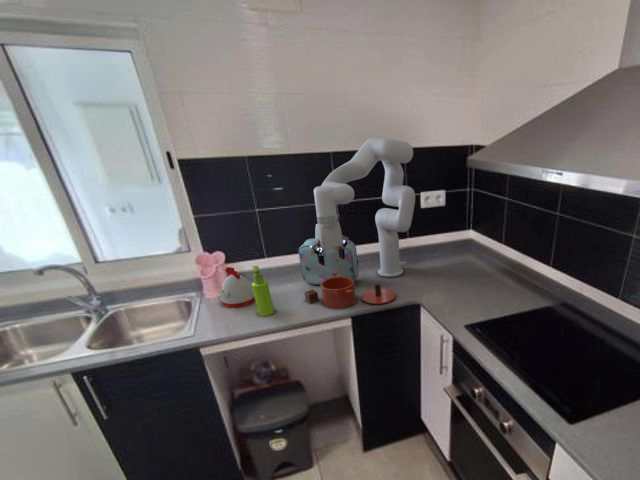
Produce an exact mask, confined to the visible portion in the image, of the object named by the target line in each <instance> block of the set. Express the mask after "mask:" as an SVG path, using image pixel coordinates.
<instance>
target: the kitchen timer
mask: <svg viewBox="0 0 640 480" xmlns="http://www.w3.org/2000/svg"><path fill="white" fill-rule="evenodd" d="M224 272H225V273H226V275H227V277H226V278H224V280H223V283H222V286H221V288H220V289H219V294H220V300H221V304H222V305H223V306H224V307H226V308H241V307H245V306H248V305H250V304H252V303H254V302H256V300H255V296H254V292H253V288H252V283H253V282H252V281H249V280H248V278H246V277H244V276H243V275H241V274H240V273H238V271H237V270H235V268H234V267H231V266H230V267H229V266H226V268H225V269H224Z"/></svg>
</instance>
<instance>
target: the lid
mask: <svg viewBox="0 0 640 480" xmlns="http://www.w3.org/2000/svg"><path fill="white" fill-rule="evenodd" d="M395 298H396V293H395V292H394V291H393V290H391V289H388V288H382V286H381V283H380V282H375V283H374V288H371V289H368V290H366V291H364V292H363V293H362V294H361V300H362V301H363V302H364V303H367V304H370V305H383V304H387V303H390V302H392V301H393V300H395Z"/></svg>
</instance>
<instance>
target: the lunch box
mask: <svg viewBox="0 0 640 480" xmlns="http://www.w3.org/2000/svg"><path fill="white" fill-rule="evenodd" d="M315 241H316V238H309V239H306V240H305V241H304V243H303V244H302V245H300V246H299V247H298V258H299V263H300V269H301V275H302V276H301V277H302V279H303V281H304V282H305V283H307V284H309V285H320V286H321V283H322V282H323V279H325V278H333V277H348V278H351V279H353V281H354V284H355V283H356V281H357V278H358V275H359V265H360V264H361V261H360V258H359V256H358V253H357V246H356V244H355V243H354V242H353V241H352V240H350V239H348V242H347V245H346V247H345V250H344V252H345V259H341V258H339V252H338V249H339V247H336V248H332V249H329V250H325V251H324V253H323V254H322V255H323V256H324V262H325V265H321V264H319V262H318V255H317V254H315V253H314V252H313V250H312V249H311V248H310V246H311V245H312V244H313V243H314V242H315ZM343 242H344V239H343ZM316 250H318V248H317V247H316Z"/></svg>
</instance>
